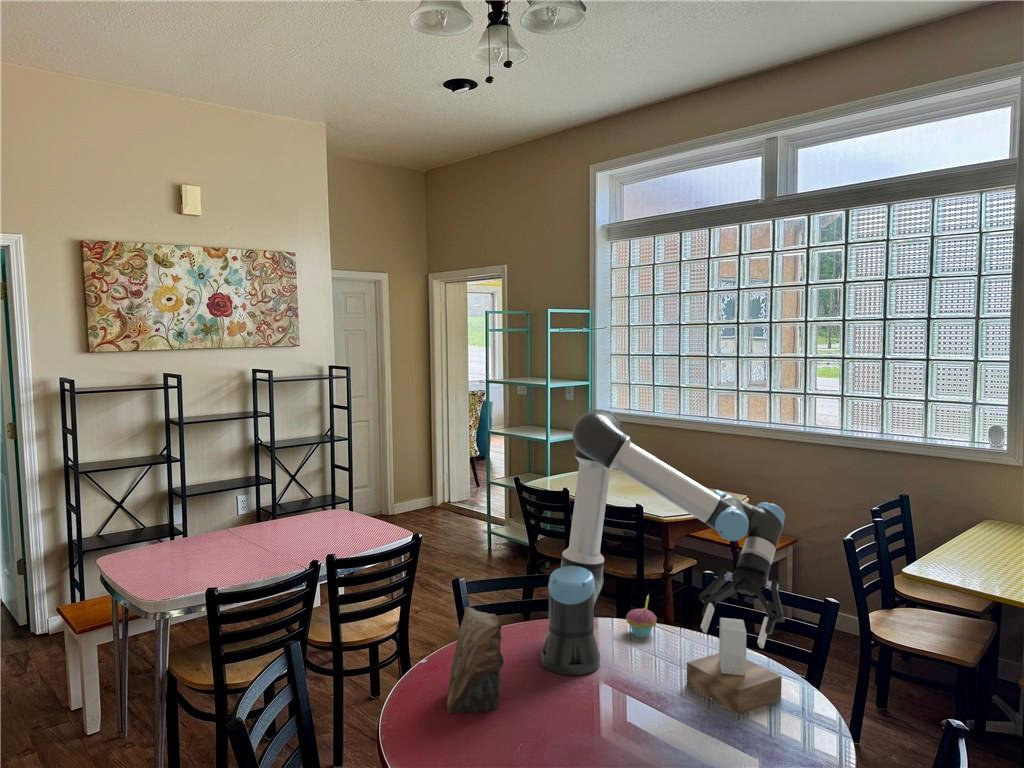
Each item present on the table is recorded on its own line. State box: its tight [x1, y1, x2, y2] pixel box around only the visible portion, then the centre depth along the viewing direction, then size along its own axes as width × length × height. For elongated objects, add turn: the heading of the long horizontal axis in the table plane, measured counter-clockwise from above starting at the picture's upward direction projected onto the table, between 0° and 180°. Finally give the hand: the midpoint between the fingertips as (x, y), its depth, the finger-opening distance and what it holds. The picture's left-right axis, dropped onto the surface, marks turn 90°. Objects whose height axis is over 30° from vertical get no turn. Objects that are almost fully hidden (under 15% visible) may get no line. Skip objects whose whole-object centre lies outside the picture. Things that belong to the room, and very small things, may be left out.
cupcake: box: [625, 593, 658, 638], centre depth 196 cm, size 9×8×12 cm
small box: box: [718, 617, 747, 676], centre depth 163 cm, size 8×6×10 cm
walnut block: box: [686, 652, 782, 716], centre depth 162 cm, size 16×14×6 cm
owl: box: [446, 606, 505, 715], centre depth 157 cm, size 13×13×20 cm
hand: (730, 637), depth 161 cm, fingers open, 13 cm apart
